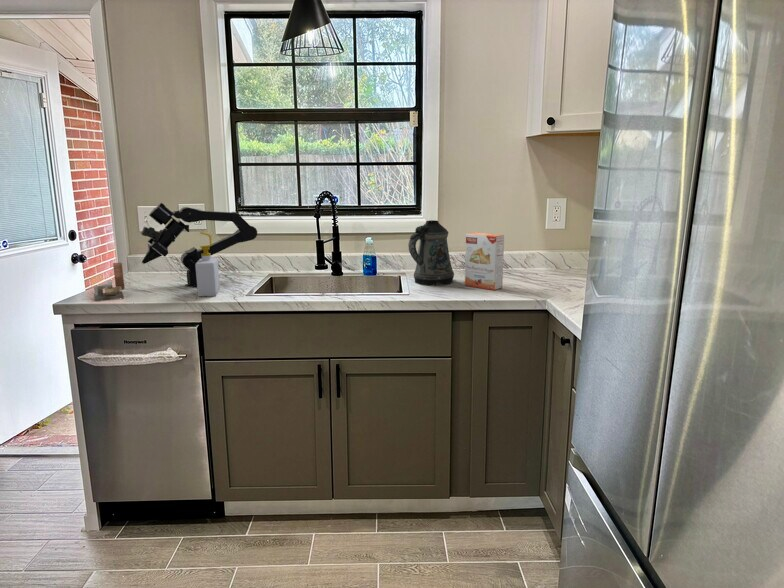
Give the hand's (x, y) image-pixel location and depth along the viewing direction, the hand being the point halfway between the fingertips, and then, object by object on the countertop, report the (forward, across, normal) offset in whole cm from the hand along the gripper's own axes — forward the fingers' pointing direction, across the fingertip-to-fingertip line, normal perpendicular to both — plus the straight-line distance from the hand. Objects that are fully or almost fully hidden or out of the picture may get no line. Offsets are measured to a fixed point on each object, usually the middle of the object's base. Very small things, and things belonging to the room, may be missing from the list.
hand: (142, 263), depth 221 cm
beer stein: (-67, +43, +82) cm, 114 cm away
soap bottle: (-7, +18, +23) cm, 30 cm away
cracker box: (-76, +60, +91) cm, 133 cm away
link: (+14, +4, -1) cm, 15 cm away
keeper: (+17, +6, -3) cm, 19 cm away
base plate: (+17, +7, -2) cm, 18 cm away
